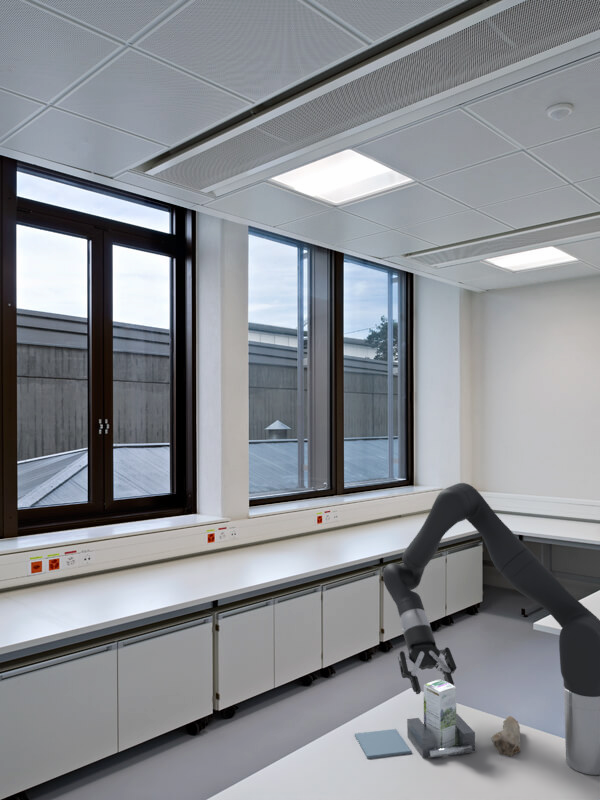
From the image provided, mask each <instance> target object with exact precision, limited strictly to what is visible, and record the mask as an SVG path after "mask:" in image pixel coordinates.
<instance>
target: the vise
mask: <svg viewBox="0 0 600 800" xmlns="http://www.w3.org/2000/svg"><path fill="white" fill-rule="evenodd" d="M406 720H407V721H406V725H407V726H406V730H407V739H408V740H409V741H410V743H411V744H412V745H413V747H414V749H415V750H416V751H417V752H418V754H419V755H420V756H421V758H423V759H424V758H438V757H439V758H440V757H445V756H454V755H462V754H469V753H470V754H471V753H473V752H476V732H475V731H474V729H472V727H470V725H468V723H466V721H465V720H463V719H462V717H461V716H460V715H459V714H458V713H456V730H457V744H456V746H453V747H448V748H440V749H435V748H434V736H433V735H432V734H431V733H430V731H429V730H428V729H427V728H426V726H425V725H424V722H422V721H421V719H420V718H419V717H413V718H412V717H411V718H407V719H406Z"/></svg>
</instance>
